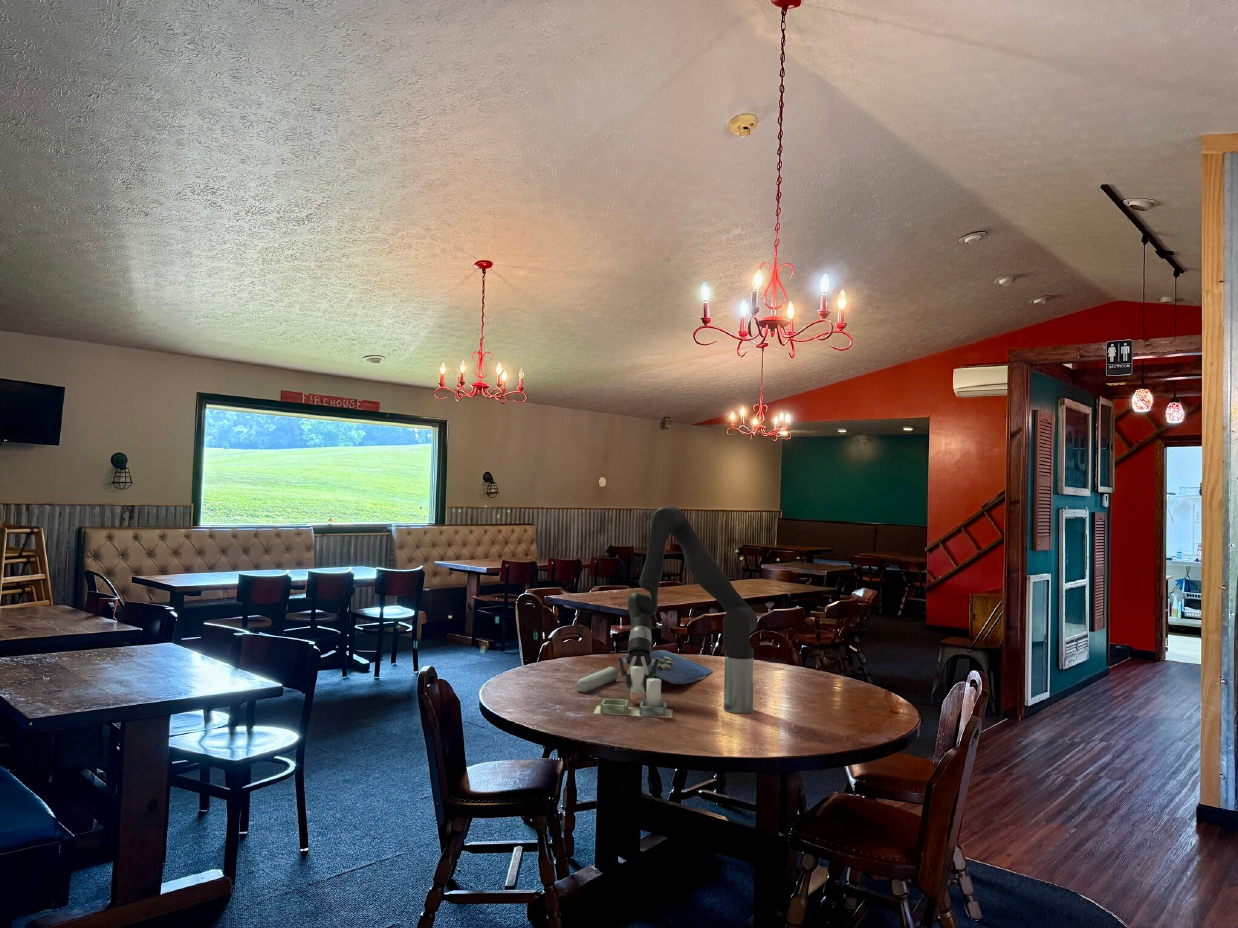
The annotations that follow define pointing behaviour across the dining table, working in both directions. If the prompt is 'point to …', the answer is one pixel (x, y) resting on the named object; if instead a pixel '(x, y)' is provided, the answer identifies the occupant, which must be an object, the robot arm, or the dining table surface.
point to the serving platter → (677, 668)
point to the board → (632, 709)
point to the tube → (597, 679)
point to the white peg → (637, 683)
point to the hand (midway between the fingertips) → (637, 686)
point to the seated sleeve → (653, 692)
